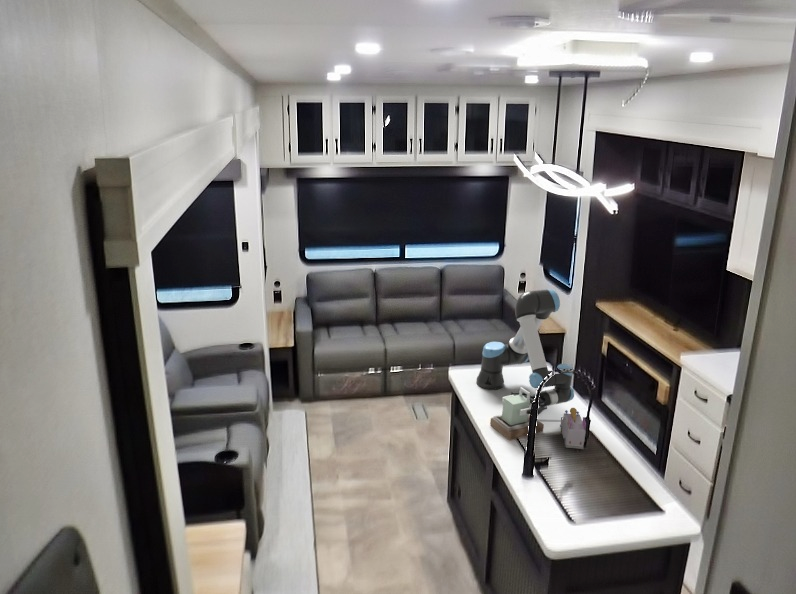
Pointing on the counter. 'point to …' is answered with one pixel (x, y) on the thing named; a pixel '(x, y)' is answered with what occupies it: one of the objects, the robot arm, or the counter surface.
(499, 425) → the tray
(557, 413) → the counter surface
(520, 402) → the trolley
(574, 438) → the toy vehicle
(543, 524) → the counter surface
